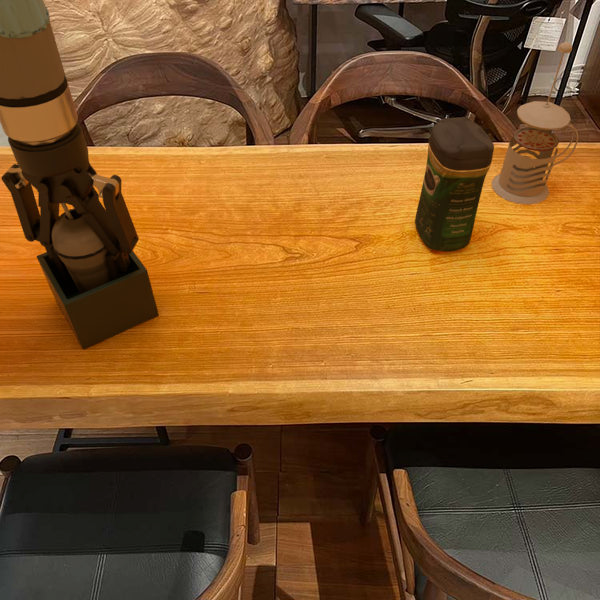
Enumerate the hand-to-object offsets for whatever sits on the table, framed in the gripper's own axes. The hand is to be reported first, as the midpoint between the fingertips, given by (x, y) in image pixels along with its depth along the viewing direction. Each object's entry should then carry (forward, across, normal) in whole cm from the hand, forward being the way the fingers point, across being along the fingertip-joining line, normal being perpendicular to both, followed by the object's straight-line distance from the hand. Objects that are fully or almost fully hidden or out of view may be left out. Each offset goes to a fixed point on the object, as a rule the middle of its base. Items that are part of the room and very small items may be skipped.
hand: (97, 282), depth 79 cm
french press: (+5, -60, -40) cm, 73 cm away
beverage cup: (+4, 0, 0) cm, 4 cm away
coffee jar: (+5, -46, -25) cm, 52 cm away
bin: (+5, 0, 0) cm, 5 cm away
